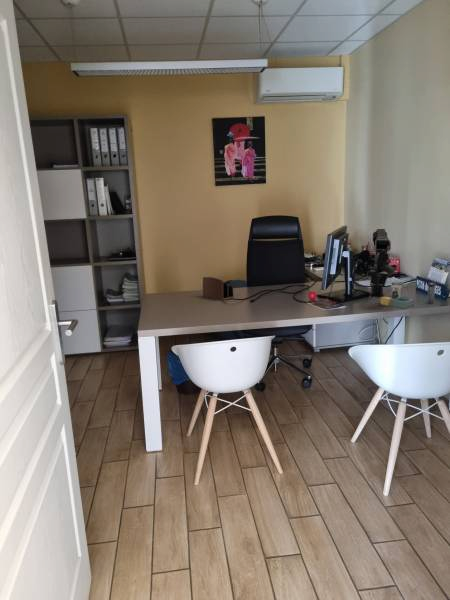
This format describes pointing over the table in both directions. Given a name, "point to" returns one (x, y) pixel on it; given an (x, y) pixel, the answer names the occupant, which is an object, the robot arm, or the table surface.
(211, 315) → the table surface
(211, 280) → the letter holder
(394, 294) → the trolley castor
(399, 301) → the parts tray
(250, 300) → the table surface
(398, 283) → the mechanical component
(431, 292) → the stop pin
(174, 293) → the table surface
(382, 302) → the chock
